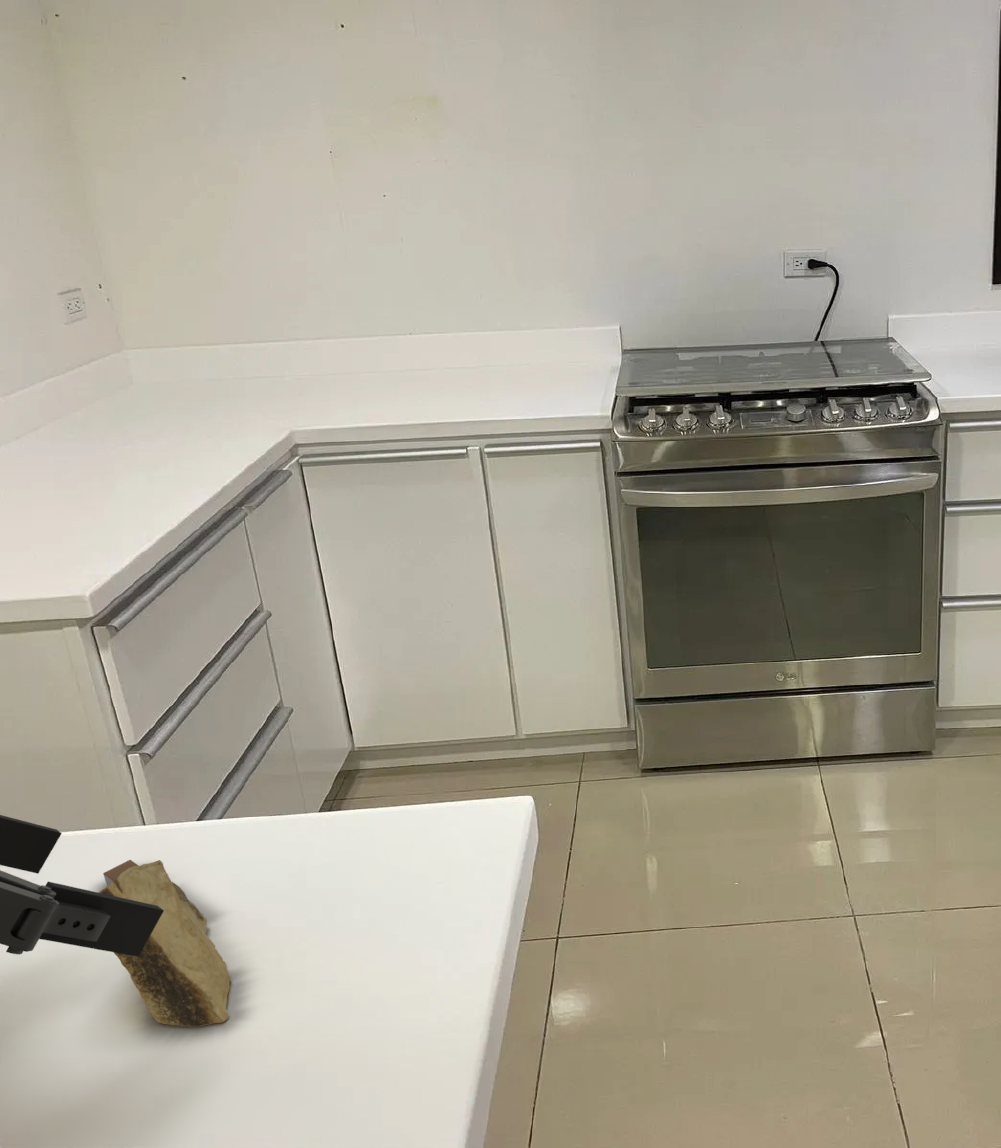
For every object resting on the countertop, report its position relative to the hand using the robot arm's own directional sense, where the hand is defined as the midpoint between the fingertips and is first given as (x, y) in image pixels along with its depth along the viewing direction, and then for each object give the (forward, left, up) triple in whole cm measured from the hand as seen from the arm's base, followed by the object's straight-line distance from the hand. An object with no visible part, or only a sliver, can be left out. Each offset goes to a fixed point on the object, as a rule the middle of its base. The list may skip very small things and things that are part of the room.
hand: (95, 889), depth 67 cm
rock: (0, +4, -9) cm, 10 cm away
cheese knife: (-10, +6, -9) cm, 15 cm away
